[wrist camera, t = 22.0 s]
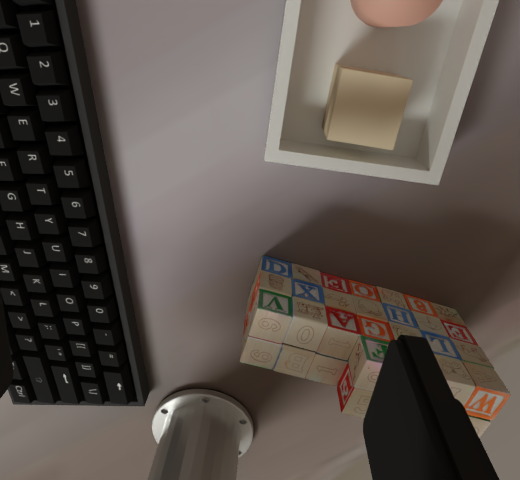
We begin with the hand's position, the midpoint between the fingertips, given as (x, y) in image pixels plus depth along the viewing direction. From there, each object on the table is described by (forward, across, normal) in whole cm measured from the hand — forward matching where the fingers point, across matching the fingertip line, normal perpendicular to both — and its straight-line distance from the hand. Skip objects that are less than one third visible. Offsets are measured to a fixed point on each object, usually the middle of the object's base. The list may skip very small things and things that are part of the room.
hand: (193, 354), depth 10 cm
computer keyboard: (+31, +20, +13) cm, 39 cm away
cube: (+29, -8, -3) cm, 31 cm away
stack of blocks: (+31, -12, +18) cm, 37 cm away
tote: (+30, -8, -7) cm, 32 cm away
